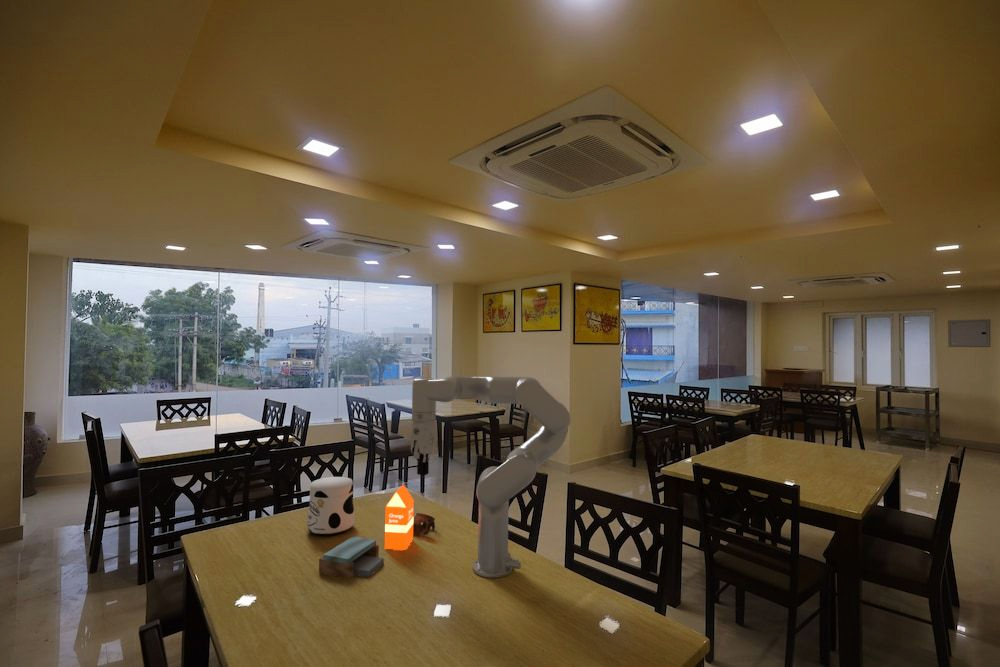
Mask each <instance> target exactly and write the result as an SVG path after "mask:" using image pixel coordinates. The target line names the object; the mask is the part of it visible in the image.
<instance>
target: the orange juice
mask: <svg viewBox="0 0 1000 667" xmlns="http://www.w3.org/2000/svg"><path fill="white" fill-rule="evenodd" d="M414 503H415V500H414V498H413V497H412V495H411V493H410V492H409V490H408V489H407V487H406V485H405V484H402V485H401V486H400V487H399V488H398V489H397V490H396V491H395V492H394V494H393V495H392V497H391V498H390V500H389V501H388V502H387V503H386V506H385V509H384V510H385V512H384V513H385V520H384V550H386V549H393V550H392V551H403V550H406V549H407V550H408V548H409V547H410V545H411V544H412V543H411V542H413V541H414V536H413V521H414V517H415V515H414V511H415V510H414V509H415V508H414V506H415V505H414ZM412 540H413V541H412ZM410 543H411V544H410ZM408 546H409V547H408ZM407 550H406V551H407Z"/></svg>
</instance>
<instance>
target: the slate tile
mask: <svg viewBox="0 0 1000 667" xmlns="http://www.w3.org/2000/svg"><path fill="white" fill-rule="evenodd" d="M384 561H385V560H384V557H379V558H378V557H372V556H365V555H361V556H359V557H358V558H356V559H355V560H353V561H352V562H354V576H357V575H360V576H359V577H364V576H366V577H365V578H370V577H371V576H372V575H373V574H374V573H376V572H377V571H378V570H379V569H380V568H381V567H382V566H383V565H384ZM378 568H379V569H378ZM377 569H378V570H377ZM373 572H374V573H373ZM371 574H372V575H371ZM370 575H371V576H370ZM369 576H370V577H369Z"/></svg>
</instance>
